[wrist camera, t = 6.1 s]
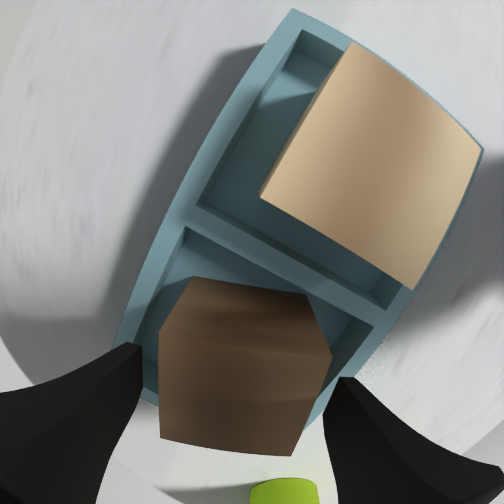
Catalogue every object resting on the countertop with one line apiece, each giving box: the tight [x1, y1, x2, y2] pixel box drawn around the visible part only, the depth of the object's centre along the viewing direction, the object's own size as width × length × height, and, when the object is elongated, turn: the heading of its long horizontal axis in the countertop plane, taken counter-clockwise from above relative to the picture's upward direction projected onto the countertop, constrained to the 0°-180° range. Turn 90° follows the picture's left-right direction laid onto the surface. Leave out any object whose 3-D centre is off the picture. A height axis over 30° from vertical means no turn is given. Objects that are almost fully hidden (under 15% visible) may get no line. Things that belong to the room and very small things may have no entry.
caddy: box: [111, 8, 484, 430], centre depth 12 cm, size 10×18×3 cm, turn 151°
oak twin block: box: [258, 42, 481, 291], centre depth 9 cm, size 5×5×5 cm
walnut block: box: [158, 276, 333, 456], centre depth 11 cm, size 5×5×5 cm
